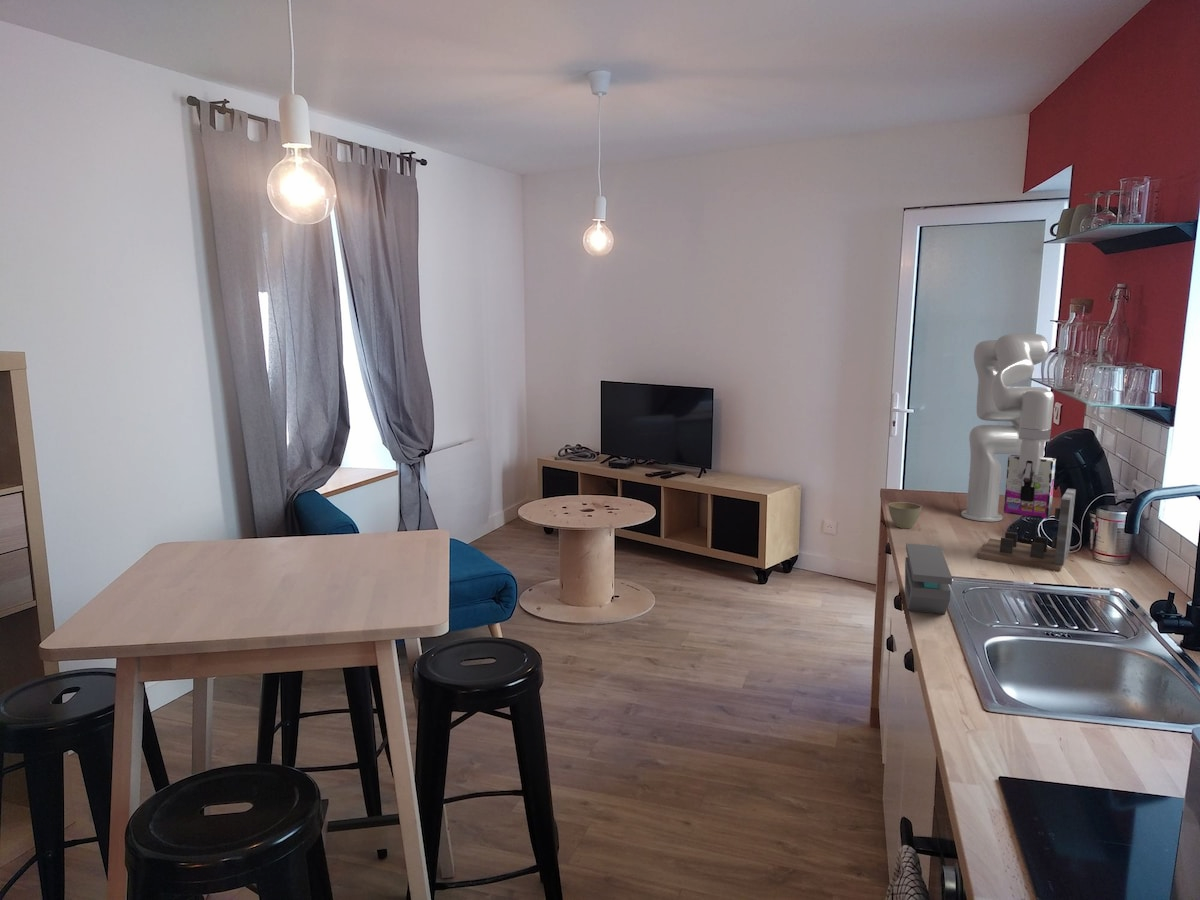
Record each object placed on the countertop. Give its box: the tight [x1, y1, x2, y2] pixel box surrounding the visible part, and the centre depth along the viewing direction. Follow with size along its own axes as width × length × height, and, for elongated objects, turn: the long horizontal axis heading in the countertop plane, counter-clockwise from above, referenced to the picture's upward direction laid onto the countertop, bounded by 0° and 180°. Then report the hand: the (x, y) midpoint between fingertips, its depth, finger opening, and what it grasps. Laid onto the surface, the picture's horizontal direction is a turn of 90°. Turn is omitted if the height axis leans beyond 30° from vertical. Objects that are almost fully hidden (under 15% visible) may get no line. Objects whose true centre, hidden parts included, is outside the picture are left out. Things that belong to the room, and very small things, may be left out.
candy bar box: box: [1003, 454, 1057, 520], centre depth 212 cm, size 11×5×16 cm, turn 51°
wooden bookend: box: [977, 487, 1077, 572], centre depth 214 cm, size 18×20×20 cm
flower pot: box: [888, 501, 923, 529], centre depth 247 cm, size 10×10×7 cm
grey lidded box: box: [904, 543, 953, 615], centre depth 179 cm, size 25×8×11 cm, turn 162°
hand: (1028, 498), depth 213 cm, fingers closed on candy bar box, 5 cm apart
